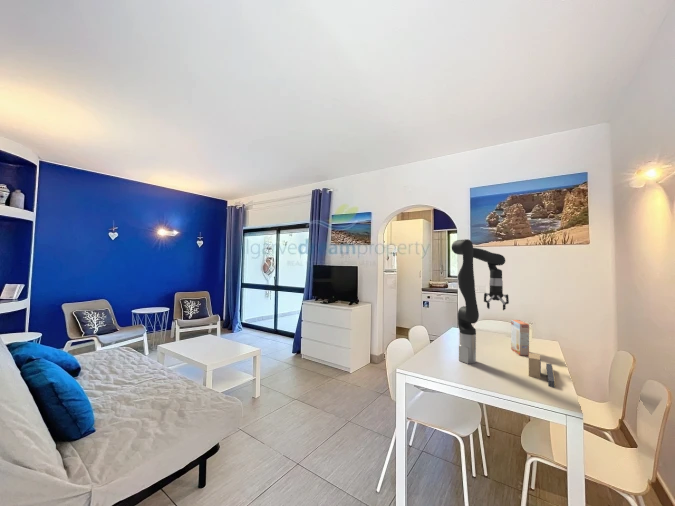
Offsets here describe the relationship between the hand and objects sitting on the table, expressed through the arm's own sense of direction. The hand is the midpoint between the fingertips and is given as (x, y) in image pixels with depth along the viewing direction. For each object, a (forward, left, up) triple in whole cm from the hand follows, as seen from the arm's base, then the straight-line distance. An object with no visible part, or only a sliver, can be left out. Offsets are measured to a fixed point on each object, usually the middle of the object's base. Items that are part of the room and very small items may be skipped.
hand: (496, 309), depth 182 cm
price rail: (-11, -33, -30) cm, 46 cm away
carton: (-13, -27, -30) cm, 42 cm away
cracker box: (+20, -6, -30) cm, 37 cm away
